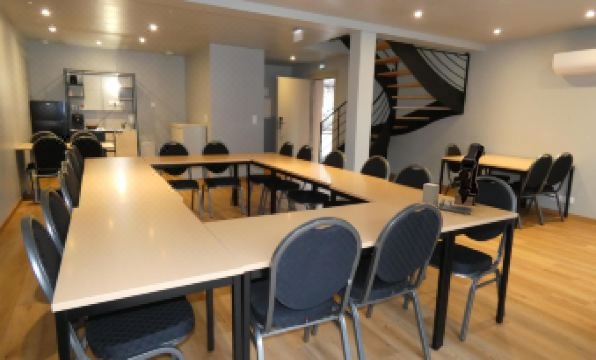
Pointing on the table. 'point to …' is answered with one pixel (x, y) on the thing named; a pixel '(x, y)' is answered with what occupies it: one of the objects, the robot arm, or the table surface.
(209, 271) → the table surface
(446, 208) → the board
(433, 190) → the skincare box
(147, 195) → the table surface
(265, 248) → the table surface
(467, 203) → the tan rectangular box
